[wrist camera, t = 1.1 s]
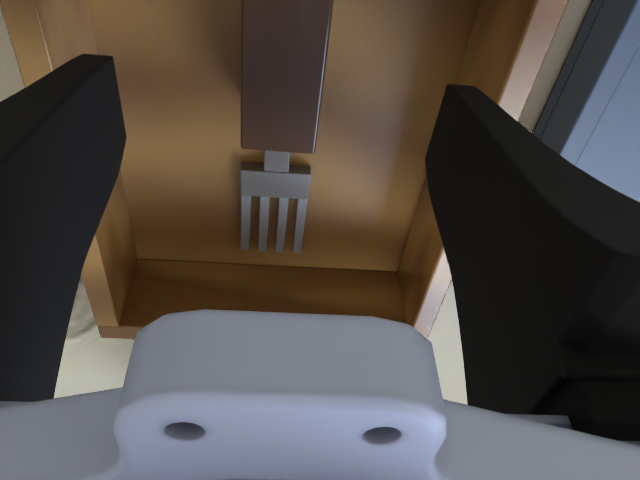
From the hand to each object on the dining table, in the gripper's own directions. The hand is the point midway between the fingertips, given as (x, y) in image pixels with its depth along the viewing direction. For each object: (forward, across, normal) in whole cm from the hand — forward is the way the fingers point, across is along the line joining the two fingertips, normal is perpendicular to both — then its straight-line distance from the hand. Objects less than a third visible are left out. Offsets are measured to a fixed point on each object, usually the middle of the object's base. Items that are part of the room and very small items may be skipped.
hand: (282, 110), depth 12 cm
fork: (+5, 0, +3) cm, 6 cm away
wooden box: (+6, 0, +3) cm, 7 cm away
